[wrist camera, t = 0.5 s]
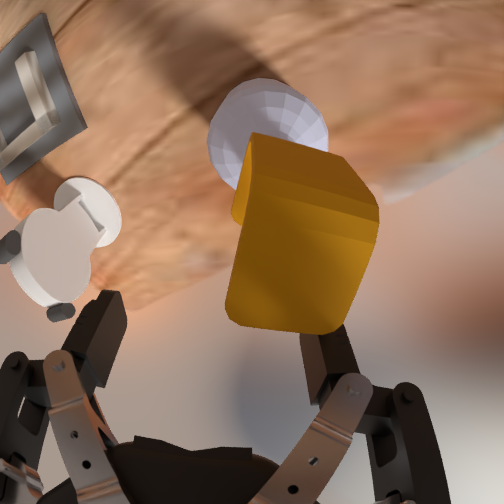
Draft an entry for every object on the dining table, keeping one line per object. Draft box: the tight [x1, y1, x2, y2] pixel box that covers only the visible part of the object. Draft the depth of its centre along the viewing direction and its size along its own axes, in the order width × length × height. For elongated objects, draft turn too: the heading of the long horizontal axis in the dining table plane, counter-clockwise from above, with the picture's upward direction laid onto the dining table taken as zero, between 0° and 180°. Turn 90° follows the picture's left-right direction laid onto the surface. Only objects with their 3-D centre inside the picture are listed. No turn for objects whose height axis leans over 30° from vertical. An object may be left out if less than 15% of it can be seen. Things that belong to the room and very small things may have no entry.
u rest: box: [0, 13, 88, 185], centre depth 21 cm, size 18×18×3 cm
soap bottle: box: [207, 78, 379, 335], centre depth 18 cm, size 9×9×25 cm
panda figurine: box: [0, 177, 121, 322], centre depth 28 cm, size 12×11×15 cm
